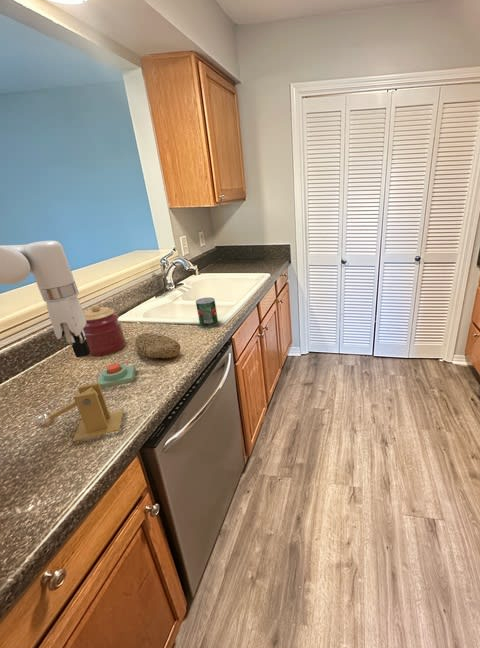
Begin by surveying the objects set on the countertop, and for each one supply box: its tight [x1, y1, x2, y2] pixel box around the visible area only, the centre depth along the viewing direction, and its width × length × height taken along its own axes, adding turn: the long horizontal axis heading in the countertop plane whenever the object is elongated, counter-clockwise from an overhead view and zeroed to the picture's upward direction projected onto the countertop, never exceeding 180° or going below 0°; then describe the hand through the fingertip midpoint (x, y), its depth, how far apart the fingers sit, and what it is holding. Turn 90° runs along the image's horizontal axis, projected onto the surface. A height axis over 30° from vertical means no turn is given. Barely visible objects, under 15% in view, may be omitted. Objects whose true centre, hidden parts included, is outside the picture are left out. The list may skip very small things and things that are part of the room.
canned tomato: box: [195, 297, 219, 328], centre depth 140 cm, size 8×8×11 cm
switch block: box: [96, 364, 137, 389], centre depth 102 cm, size 10×8×4 cm
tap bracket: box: [72, 381, 124, 442], centre depth 80 cm, size 10×8×12 cm
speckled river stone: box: [134, 332, 182, 359], centre depth 117 cm, size 13×8×20 cm
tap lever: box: [35, 387, 98, 429], centre depth 78 cm, size 14×4×4 cm, turn 111°
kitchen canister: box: [83, 304, 126, 356], centre depth 121 cm, size 13×13×18 cm
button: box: [106, 362, 121, 374], centre depth 101 cm, size 4×4×2 cm
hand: (83, 355), depth 88 cm, fingers closed
